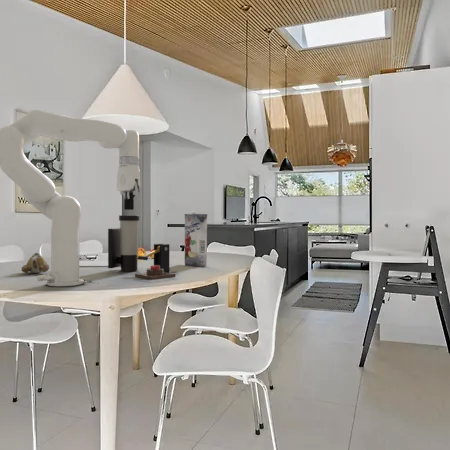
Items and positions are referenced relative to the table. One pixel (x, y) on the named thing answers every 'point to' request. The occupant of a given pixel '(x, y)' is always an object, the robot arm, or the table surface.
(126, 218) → the light fixture
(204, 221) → the juice carton
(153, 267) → the button
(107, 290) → the table surface
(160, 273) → the button block
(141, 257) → the switch lever
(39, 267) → the ceramic sculpture
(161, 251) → the switch bracket
